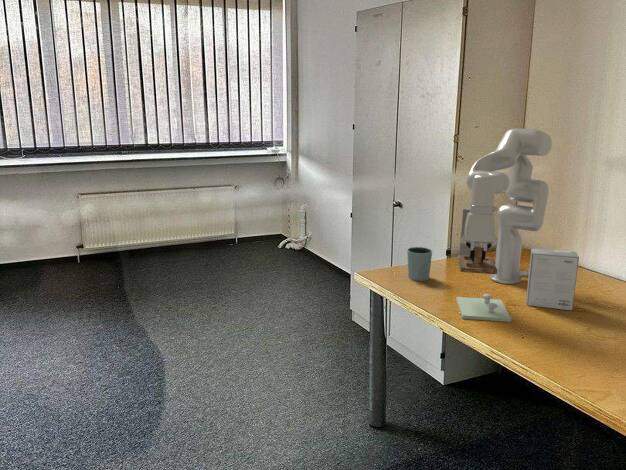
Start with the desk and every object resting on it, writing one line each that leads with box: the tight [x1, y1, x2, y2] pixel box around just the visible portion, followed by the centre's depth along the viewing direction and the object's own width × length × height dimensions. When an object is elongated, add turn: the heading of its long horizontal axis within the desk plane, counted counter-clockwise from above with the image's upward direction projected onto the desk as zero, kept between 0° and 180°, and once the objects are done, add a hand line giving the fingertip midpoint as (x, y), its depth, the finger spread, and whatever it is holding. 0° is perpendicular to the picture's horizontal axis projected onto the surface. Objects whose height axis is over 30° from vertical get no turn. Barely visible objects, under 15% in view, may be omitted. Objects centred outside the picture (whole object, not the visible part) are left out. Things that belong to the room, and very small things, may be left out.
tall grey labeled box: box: [458, 205, 481, 256], centre depth 252 cm, size 14×6×25 cm, turn 147°
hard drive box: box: [525, 248, 580, 311], centre depth 199 cm, size 16×8×20 cm, turn 71°
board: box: [456, 293, 512, 323], centre depth 194 cm, size 16×18×4 cm
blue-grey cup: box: [406, 246, 433, 282], centre depth 228 cm, size 10×10×12 cm
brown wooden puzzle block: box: [457, 245, 497, 275], centre depth 195 cm, size 12×16×7 cm
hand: (477, 260), depth 195 cm, fingers closed on brown wooden puzzle block, 2 cm apart
